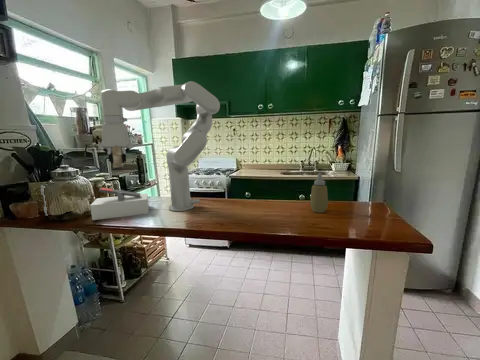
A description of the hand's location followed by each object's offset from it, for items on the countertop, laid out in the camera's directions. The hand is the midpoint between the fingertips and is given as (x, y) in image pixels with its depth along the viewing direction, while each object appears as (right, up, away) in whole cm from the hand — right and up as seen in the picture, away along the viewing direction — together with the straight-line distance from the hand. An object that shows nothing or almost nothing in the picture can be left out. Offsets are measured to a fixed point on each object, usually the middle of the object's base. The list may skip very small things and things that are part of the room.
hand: (118, 162), depth 107 cm
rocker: (-5, -14, +12) cm, 19 cm away
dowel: (0, -3, 0) cm, 3 cm away
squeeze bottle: (+91, -22, +6) cm, 93 cm away
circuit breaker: (-35, -25, +15) cm, 45 cm away
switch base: (-4, -24, +14) cm, 28 cm away
